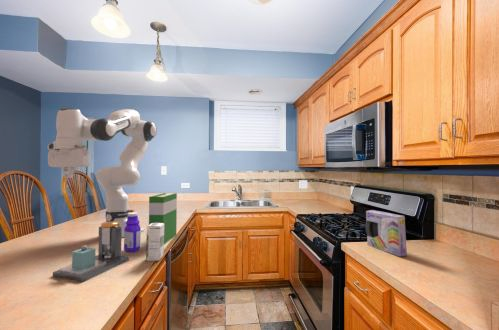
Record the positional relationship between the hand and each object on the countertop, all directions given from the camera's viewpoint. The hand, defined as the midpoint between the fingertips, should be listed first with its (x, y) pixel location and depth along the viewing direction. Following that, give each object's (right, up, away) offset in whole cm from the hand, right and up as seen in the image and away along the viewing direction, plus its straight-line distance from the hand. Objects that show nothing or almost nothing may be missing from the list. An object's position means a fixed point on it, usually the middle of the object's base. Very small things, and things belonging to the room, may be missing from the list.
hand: (68, 177), depth 101 cm
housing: (+17, -31, -14) cm, 38 cm away
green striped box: (+31, -35, +26) cm, 53 cm away
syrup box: (+38, -34, -1) cm, 51 cm away
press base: (+18, -34, -10) cm, 40 cm away
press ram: (+20, -31, -4) cm, 37 cm away
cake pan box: (+142, -35, +11) cm, 146 cm away
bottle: (+23, -35, +9) cm, 42 cm away
